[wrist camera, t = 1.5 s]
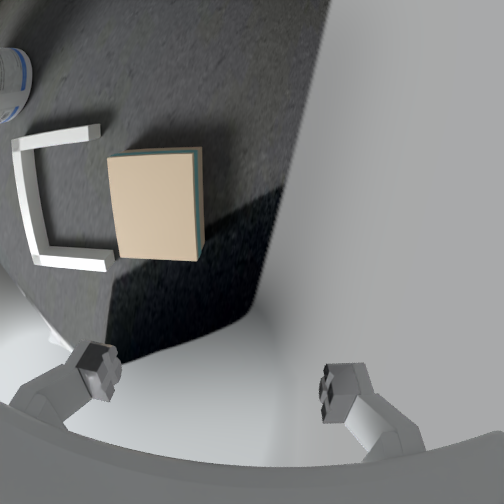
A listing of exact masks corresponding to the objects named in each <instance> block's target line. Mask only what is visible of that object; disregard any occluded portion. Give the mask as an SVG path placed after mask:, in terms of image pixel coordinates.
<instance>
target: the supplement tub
mask: <svg viewBox="0 0 504 504" xmlns="http://www.w3.org/2000/svg"><path fill="white" fill-rule="evenodd" d="M31 84H32V66H31V62H30V59H29V57H28V56H27V54H26V53H25V52H24V51H22V50H21V49H18V48H0V123H3V122H7V121H10V120H11V119H13V118H14V117H15V116H17V115H18V114H19V112H20V111H21V110H22V108H23V107H24V105H25V103H26V101H27V99H28V96H29V94H30V90H31Z"/></svg>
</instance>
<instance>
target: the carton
mask: <svg viewBox="0 0 504 504" xmlns="http://www.w3.org/2000/svg"><path fill="white" fill-rule="evenodd" d="M107 162H108V173H109V183H110V192H111V200H112V208H113V215H114V222H115V229H116V235H117V241H118V247H119V253H120V257H123V258H142V259H163V260H184V261H197V260H198V258H199V257H200V254H201V250H202V248H203V245H204V243H205V233H204V208H203V171H202V147H175V148H152V149H135V150H125V151H123V152H120V153H118V154H114V155H111V156H110V157H108V158H107Z"/></svg>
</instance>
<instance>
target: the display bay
mask: <svg viewBox="0 0 504 504" xmlns="http://www.w3.org/2000/svg"><path fill="white" fill-rule="evenodd" d="M100 137H101V133H100V124H92V125H85V126H78V127H71V128H65V129H59V130H53V131H47V132H42V133H37V134H32V135H27V136H23V137H19V138H16V139H13V140H11V144H12V154H13V163H14V171H15V178H16V185H17V191H18V197H19V203H20V208H21V213H22V218H23V223H24V227H25V232H26V236H27V240H28V244H29V248H30V252H31V255H32V259H33V262H34V265H42V266H51V267H61V268H71V269H81V270H91V271H102V272H107V271H108V269H109V268H110V267H111V266H112V264H113V263H114V262H115V258H114V252H113V250H107V249H90V248H74V247H58V246H49V241H48V237H47V233H46V228H45V223H44V218H43V213H42V207H41V202H40V196H39V189H38V182H37V175H36V167H35V158H34V148H40V147H46V146H53V145H60V144H68V143H75V142H84V141H90V140H94V139H97V138H100Z"/></svg>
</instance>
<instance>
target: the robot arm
mask: <svg viewBox="0 0 504 504" xmlns="http://www.w3.org/2000/svg"><path fill="white" fill-rule="evenodd" d="M116 355H117V350H116V347H115V346H112V345H107V344H103V343H98V342H94V341H88V340H84V339H82V340H81V341H79V343H78V344H77V346H76V347H75V349H74V350H73V352H72V353H71V355H70V357H69V358H68V360H67V361H66V363H65V365H63V364H61V365H59V366H57V367H55V368H53V369H51V370H50V371H48V372H46V373H44V374H42V375H40V376H38V377H37V378H35V379H33V380H31V381H29V382H27V383H25V384H23V385H22V386H20V388H19V390H18V391H17V393H16V394H15V396H14V397H13V399H12V401H11V402H10V404H9V405H6V404H4V403H2V402H0V504H504V433H503V432H502V431H493V432H490V433H487V434H484V435H482V436H479V437H475V438H472V439H469V440H466V441H463V442H460V443H456V444H452V445H449V446H445V447H442V448H438V449H434V450H430V451H426V449H425V446H424V443H423V440H422V437H421V434H420V431H419V428H418V426H417V425H416V424H414V423H413V422H412V421H411V420H409V419H408V418H407V417H406V416H404V415H403V414H402V413H401V412H400V411H398V410H397V409H396V408H395V407H394V406H392V405H391V404H390V403H389V402H387V401H386V400H385V399H384V398H383V397H381V396H380V395H379V394H375V393H374V390H373V387H372V384H371V381H370V378H369V375H368V371H367V369H366V365H365V364H364V363H338V364H326V365H325V367H324V370H323V372H324V377H322V378H321V381H320V384H319V399H320V402H321V403H322V404H323V405H322V409H321V414H322V421H323V423H324V424H325V423H344V425H345V426H346V427H347V428H348V429H349V431H350V432H351V433H352V434H353V435H354V436H355V438H356V439H357V440H358V441H359V442H360V443H361V444H362V446H363V447H364V448H365V449H366V450H367V452H368V454H367V455H366V457H365V458H364V459H363V461H362V462H361V463H354V464H344V465H332V466H315V467H252V466H236V465H224V464H213V463H204V462H197V461H190V460H183V459H176V458H171V457H165V456H160V455H154V454H150V453H145V452H141V451H136V450H132V449H128V448H123V447H120V446H116V445H112V444H109V443H105V442H102V441H98V440H95V439H92V438H88V437H85V436H82V435H79V434H76V433H73V432H70V431H68V429H67V428H66V426H65V425H64V424H63V421H65V420H66V419H67V418H69V417H70V416H71V415H72V414H74V413H75V412H76V411H78V410H79V409H80V408H81V407H83V406H84V405H85V404H86V403H88V402H89V401H90V400H91V399H92V398H93V399H97V400H102V401H106V402H110V400H111V398H112V396H113V393H114V391H115V389H114V386H113V385H115V384H116V383H118V382H119V380H120V377H121V372H122V367H121V362H120V360H119V359H118V358H117V357H116Z"/></svg>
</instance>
